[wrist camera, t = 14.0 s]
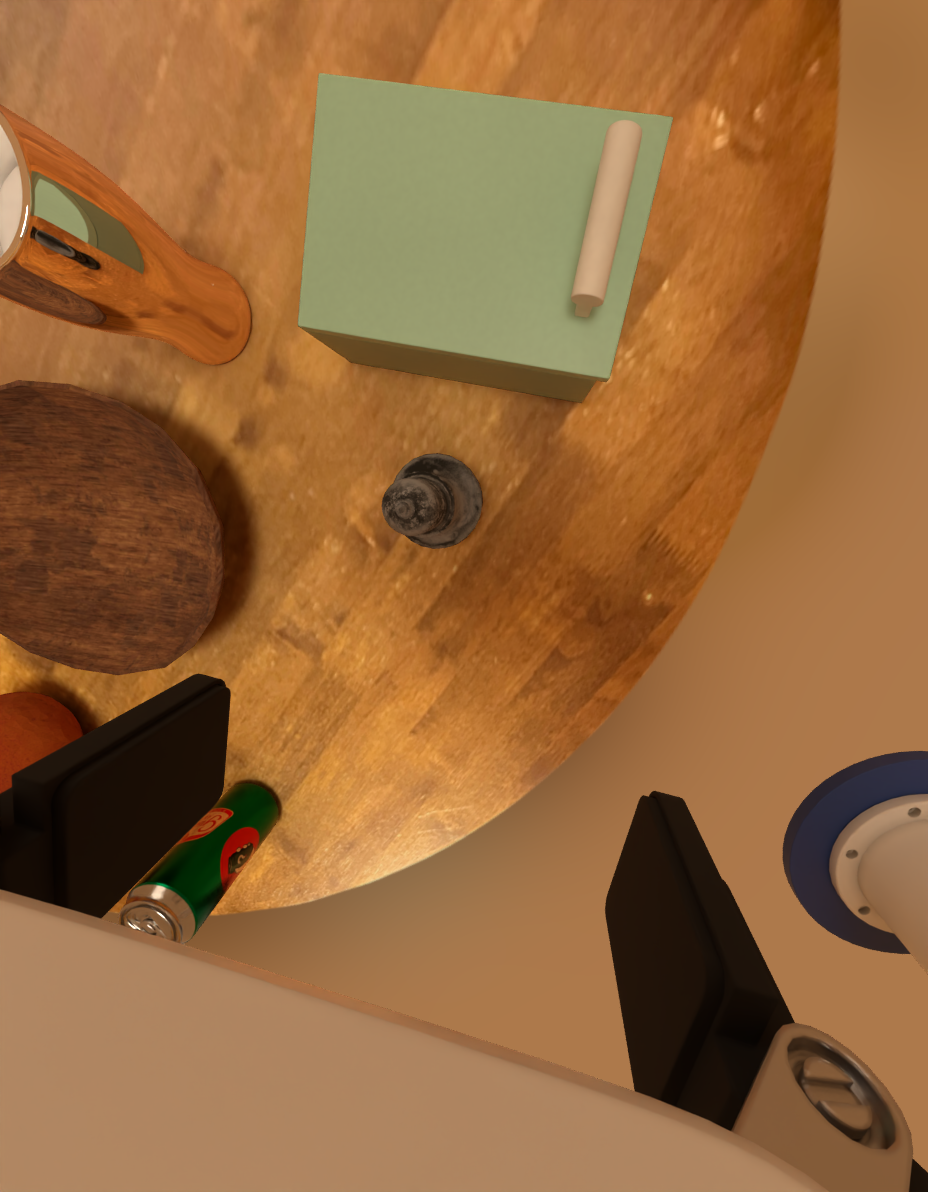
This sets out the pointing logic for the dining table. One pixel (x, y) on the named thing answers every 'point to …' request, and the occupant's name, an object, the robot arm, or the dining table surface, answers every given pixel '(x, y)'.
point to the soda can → (201, 866)
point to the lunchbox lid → (476, 223)
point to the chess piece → (433, 501)
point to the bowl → (101, 533)
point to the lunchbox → (459, 368)
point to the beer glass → (104, 254)
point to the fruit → (31, 731)
